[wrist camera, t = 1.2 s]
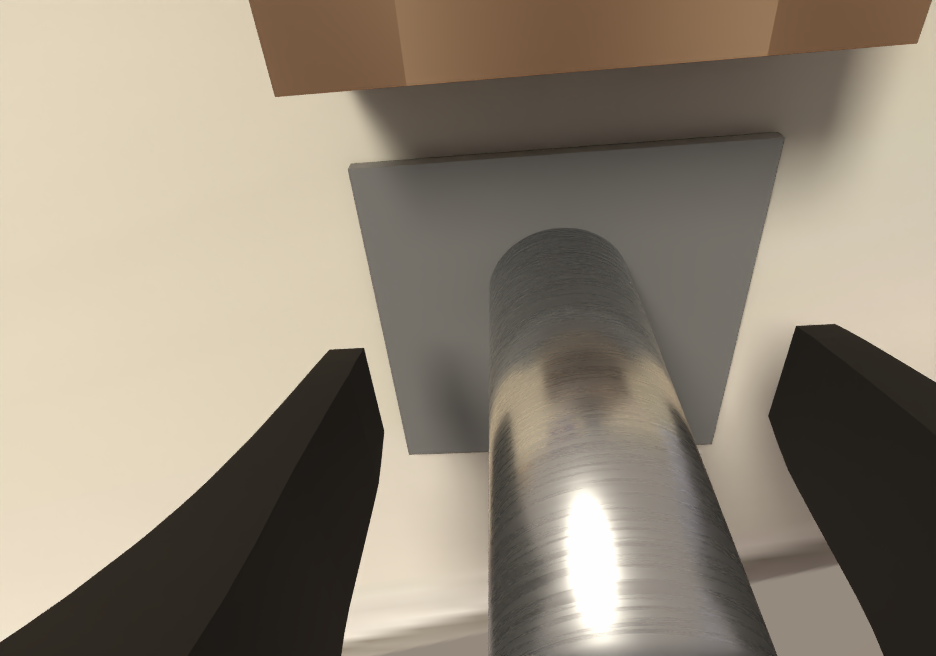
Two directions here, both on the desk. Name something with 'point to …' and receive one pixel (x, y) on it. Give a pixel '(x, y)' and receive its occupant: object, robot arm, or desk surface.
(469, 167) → the rubber mat
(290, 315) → the desk surface
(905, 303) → the desk surface
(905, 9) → the walnut hole block
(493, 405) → the steel pin
